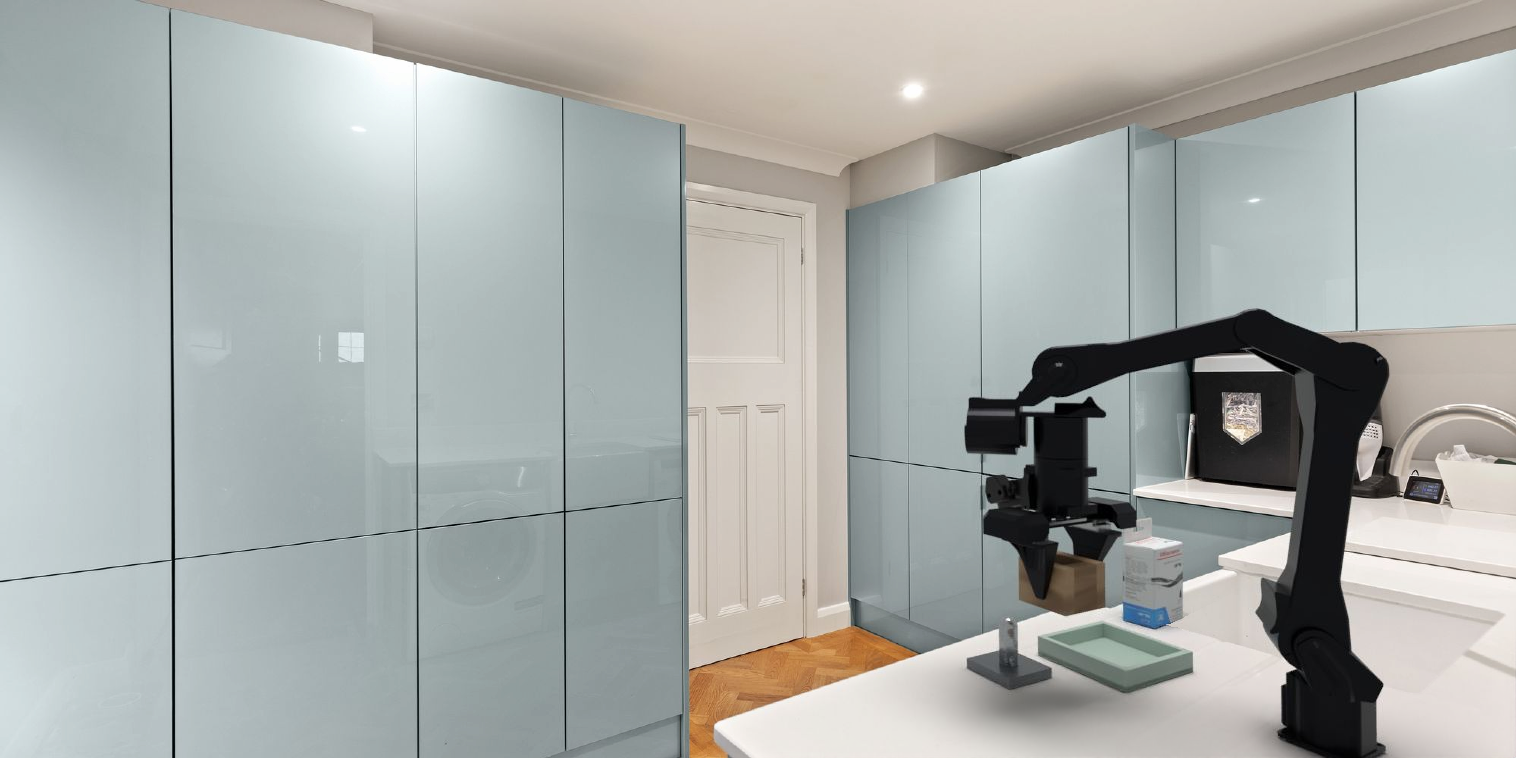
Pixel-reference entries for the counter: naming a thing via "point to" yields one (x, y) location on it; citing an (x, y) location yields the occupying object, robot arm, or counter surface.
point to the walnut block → (1068, 585)
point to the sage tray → (1115, 655)
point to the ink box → (1151, 577)
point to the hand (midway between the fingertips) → (1061, 594)
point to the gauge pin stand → (1009, 661)
